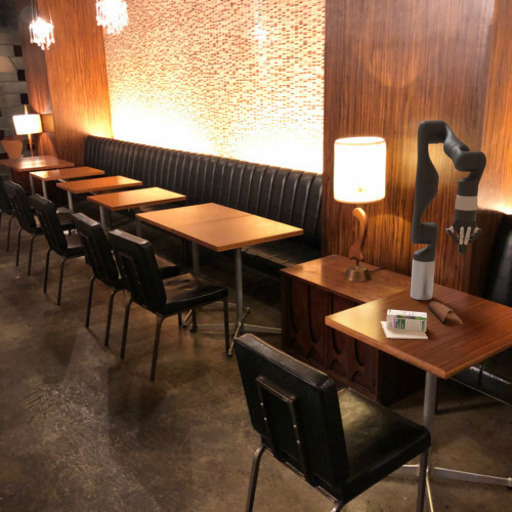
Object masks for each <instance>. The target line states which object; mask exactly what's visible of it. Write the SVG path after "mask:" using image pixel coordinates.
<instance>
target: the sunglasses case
mask: <svg viewBox="0 0 512 512" xmlns="http://www.w3.org/2000/svg"><path fill="white" fill-rule="evenodd" d="M427 307H428V309H430V310H431V311H432V312H433V313H434V314H435V316H437V317H438V319H439V320H440V321H441V322H442V323H443V324H444V325H445V326H446V325H448V326H449V325H463V324H464V323H463V320H462V319H461V318H460V317H459V316H458V315H457V314H456V312H454V310H453V309H452V308H450V307H449V306H447V305H445V304H443V303H440V302H437V301H433V300H432V301H430V302H429V303H428V305H427Z"/></svg>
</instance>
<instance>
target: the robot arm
mask: <svg viewBox="0 0 512 512" xmlns="http://www.w3.org/2000/svg"><path fill="white" fill-rule="evenodd" d="M417 127H418V128H417V137H416V138H417V140H416V141H417V146H416V147H417V148H416V149H417V150H416V151H417V159H416V172H415V180H414V181H415V182H414V183H415V184H414V201H413V203H414V204H413V213H412V220H411V227H410V241H411V243H412V244H413V245H415V244H416V245H426V246H424V247H423V248H420V249H417V250H415V251H414V252H413V253H412V264H411V265H412V267H411V281H410V295H409V296H410V298H412V299H414V300H418V301H419V300H420V301H429V300H431V299H432V298H433V290H434V280H435V279H434V278H435V264H436V253H437V244H438V238H439V227H438V224H437V223H436V222H426V221H425V222H422V218H423V215H424V213H425V212H426V210H427V208H429V206H430V205H431V203H432V202H433V201H434V200H435V198H436V197H437V195H438V192H439V183H440V175H439V173H438V171H437V168H436V167H435V165H434V163H433V162H432V160H431V156H430V152H429V145H437V144H443V146H442V150H443V152H444V154H445V156H447V157H448V158H449V159H450V160H451V161H452V163H453V167H454V169H455V170H457V171H458V172H461V173H462V172H463V173H465V172H466V173H468V172H470V173H469V174H468V175H467V176H466V177H462V178H460V179H459V180H458V181H457V186H456V188H457V189H456V197H455V202H454V211H453V212H454V214H453V222H452V224H451V226H450V227H446V228H445V232H446V233H447V235H448V236H449V237H450V238H451V240H452V241H453V242H454V243H455V244H457V252H458V253H459V255H465V254H466V253H467V248H468V244H472V243H473V242H474V241H476V239H477V238H478V237H479V236H480V235H481V234H482V233H483V230H482V229H481V228H479V227H478V225H477V221H476V220H477V212H478V208H479V207H478V206H479V205H478V203H479V202H478V201H479V199H478V195H479V186H480V181H481V179H482V176H483V174H484V171H485V168H486V166H487V157H486V154H485V153H484V152H483V151H480V150H478V151H477V150H476V151H475V150H473V151H471V149H470V147H469V146H468V145H467V144H466V143H464V142H463V141H462V140H461V139H459V138H458V137H457V135H456V134H455V133H454V131H453V130H452V128H451V127H450V125H449V124H448V123H447V122H446V121H444V120H439V119H438V120H437V119H436V120H422V121H420V122H419V124H418V126H417ZM454 232H455V233H456V234H457V237H456V236H455V234H454Z"/></svg>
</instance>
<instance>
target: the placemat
mask: <svg viewBox="0 0 512 512" xmlns="http://www.w3.org/2000/svg"><path fill="white" fill-rule="evenodd" d="M386 321H387V320H385V321H380V324H382V325H381V327H382V330H383V332H384V335H385V337H386V339H388V340H389V338H390V339H394V340H395V339H397V340H401V339H403V340H404V339H406V340H428V338H429V337H428V336H427V334H426V332H421V331H413V330H402V329H391V328H386Z"/></svg>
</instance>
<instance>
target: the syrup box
mask: <svg viewBox="0 0 512 512" xmlns="http://www.w3.org/2000/svg"><path fill="white" fill-rule="evenodd" d="M385 321H386V328H391V329H402V330H413V331H421V332H425V333H426V332H427V325H428V324H427V323H428V314H427V312H422V311H410V310H399V309H387V311H386V320H385Z"/></svg>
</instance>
